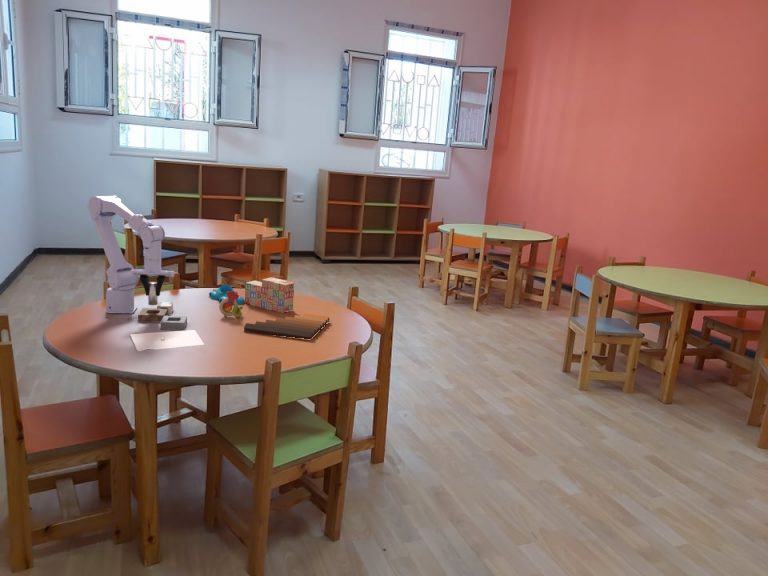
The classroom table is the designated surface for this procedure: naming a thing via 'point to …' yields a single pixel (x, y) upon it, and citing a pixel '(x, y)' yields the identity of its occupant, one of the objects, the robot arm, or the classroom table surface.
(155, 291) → the steel peg
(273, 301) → the stack of blocks
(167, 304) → the block
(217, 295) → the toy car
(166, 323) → the block
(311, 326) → the pan flute
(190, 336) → the paper sheet
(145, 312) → the socket block
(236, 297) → the bird rattle
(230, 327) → the classroom table surface
